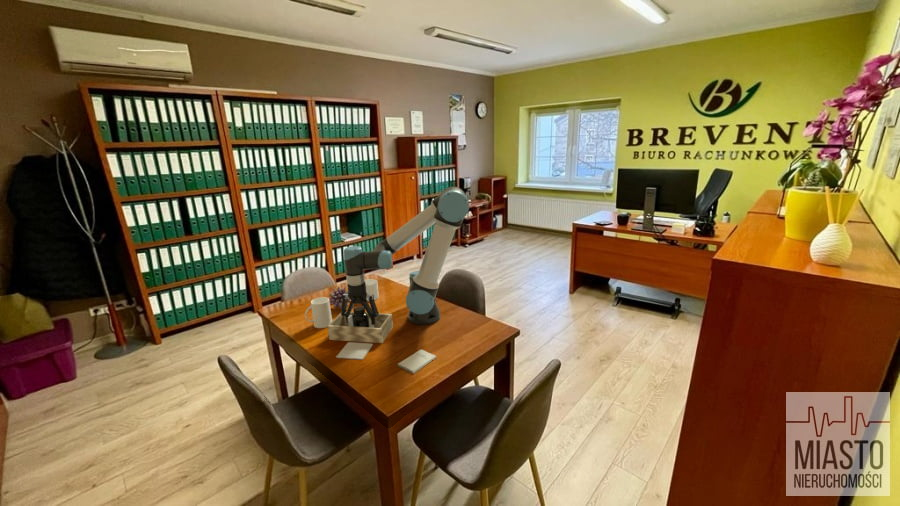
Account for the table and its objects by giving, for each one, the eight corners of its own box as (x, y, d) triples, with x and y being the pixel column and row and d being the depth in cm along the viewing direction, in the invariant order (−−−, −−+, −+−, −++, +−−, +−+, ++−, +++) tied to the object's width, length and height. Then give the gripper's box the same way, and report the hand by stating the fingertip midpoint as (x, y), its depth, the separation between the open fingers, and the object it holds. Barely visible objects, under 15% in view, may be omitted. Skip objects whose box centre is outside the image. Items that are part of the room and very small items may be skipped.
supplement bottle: (371, 329, 162) (368, 304, 159) (368, 336, 156) (365, 311, 152) (355, 329, 162) (353, 305, 159) (352, 337, 155) (349, 312, 152)
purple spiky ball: (329, 305, 188) (326, 284, 184) (353, 302, 191) (350, 281, 187) (328, 314, 177) (325, 292, 174) (353, 311, 180) (351, 289, 177)
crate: (393, 326, 163) (391, 314, 161) (382, 343, 150) (381, 329, 148) (343, 324, 167) (342, 311, 166) (329, 339, 154) (327, 326, 152)
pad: (373, 344, 149) (373, 343, 149) (362, 359, 139) (362, 358, 139) (348, 342, 151) (348, 342, 151) (336, 357, 141) (336, 356, 141)
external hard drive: (398, 367, 135) (421, 352, 144) (413, 375, 130) (436, 359, 139) (397, 363, 134) (420, 348, 143) (413, 371, 129) (436, 355, 138)
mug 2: (382, 298, 195) (380, 282, 192) (367, 302, 189) (365, 286, 187) (371, 291, 204) (369, 276, 201) (356, 296, 198) (354, 280, 196)
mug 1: (309, 332, 161) (305, 308, 157) (304, 325, 167) (300, 302, 164) (335, 324, 168) (332, 300, 164) (329, 317, 174) (325, 295, 171)
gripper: (383, 280, 154) (388, 327, 160) (336, 278, 157) (342, 324, 164) (377, 286, 146) (382, 335, 153) (328, 285, 150) (334, 333, 157)
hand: (361, 330), depth 158 cm, fingers open, 9 cm apart
